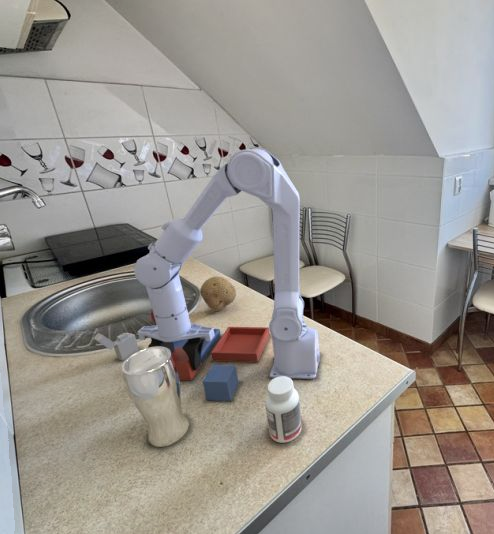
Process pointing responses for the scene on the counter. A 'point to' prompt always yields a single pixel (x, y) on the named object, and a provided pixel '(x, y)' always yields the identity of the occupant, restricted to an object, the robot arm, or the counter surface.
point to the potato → (217, 293)
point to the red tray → (241, 344)
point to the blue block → (221, 382)
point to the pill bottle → (283, 410)
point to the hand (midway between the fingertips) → (185, 366)
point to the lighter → (120, 344)
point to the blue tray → (206, 345)
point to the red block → (183, 364)
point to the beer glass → (156, 394)
